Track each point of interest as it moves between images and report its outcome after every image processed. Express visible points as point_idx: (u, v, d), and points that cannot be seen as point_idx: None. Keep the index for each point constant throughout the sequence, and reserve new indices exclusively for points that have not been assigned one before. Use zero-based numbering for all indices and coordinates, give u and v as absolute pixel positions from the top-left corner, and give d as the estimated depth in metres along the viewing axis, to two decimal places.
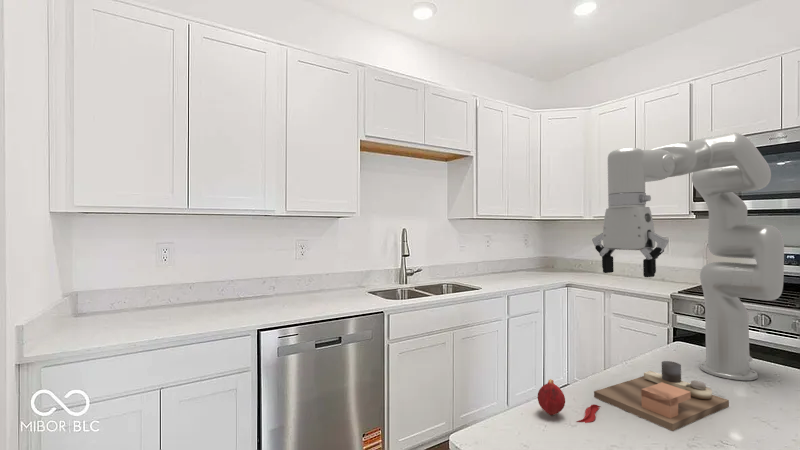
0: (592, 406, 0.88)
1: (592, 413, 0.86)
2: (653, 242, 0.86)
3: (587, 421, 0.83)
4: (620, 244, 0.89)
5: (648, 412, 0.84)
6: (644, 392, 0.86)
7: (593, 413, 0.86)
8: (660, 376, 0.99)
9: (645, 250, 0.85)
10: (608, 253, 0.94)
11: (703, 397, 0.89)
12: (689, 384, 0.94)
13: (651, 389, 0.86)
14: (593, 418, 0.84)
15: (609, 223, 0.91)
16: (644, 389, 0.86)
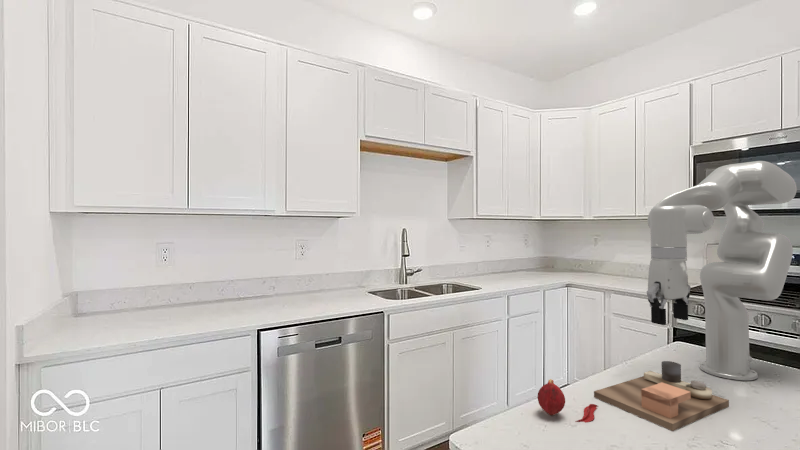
0: (590, 406, 0.89)
1: (590, 412, 0.86)
2: None
3: (586, 421, 0.83)
4: (678, 294, 0.95)
5: (648, 412, 0.84)
6: (644, 392, 0.86)
7: (591, 413, 0.86)
8: (660, 376, 0.99)
9: (686, 297, 0.98)
10: None
11: (703, 397, 0.89)
12: (689, 384, 0.94)
13: (651, 389, 0.86)
14: (592, 418, 0.84)
15: (672, 275, 0.94)
16: (644, 389, 0.86)
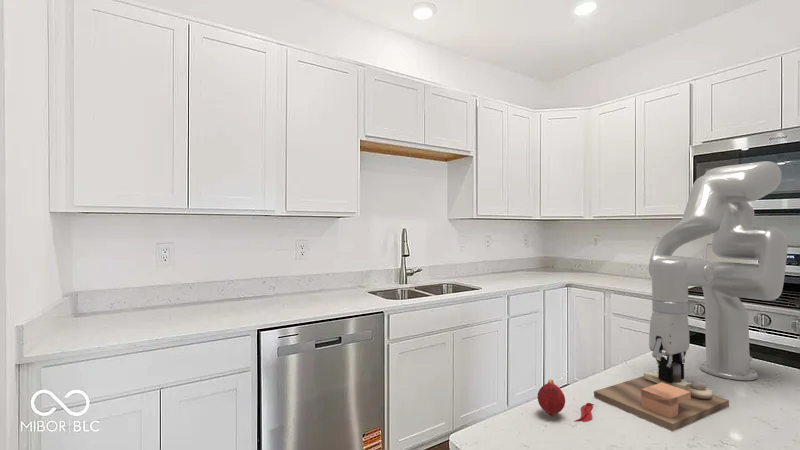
0: (587, 405, 0.89)
1: (587, 411, 0.87)
2: None
3: (584, 420, 0.84)
4: (679, 349, 0.95)
5: (648, 412, 0.84)
6: (644, 392, 0.86)
7: (589, 412, 0.87)
8: None
9: (683, 355, 0.97)
10: None
11: (703, 397, 0.89)
12: (689, 384, 0.94)
13: (651, 389, 0.86)
14: (590, 417, 0.84)
15: (674, 330, 0.94)
16: (644, 389, 0.86)
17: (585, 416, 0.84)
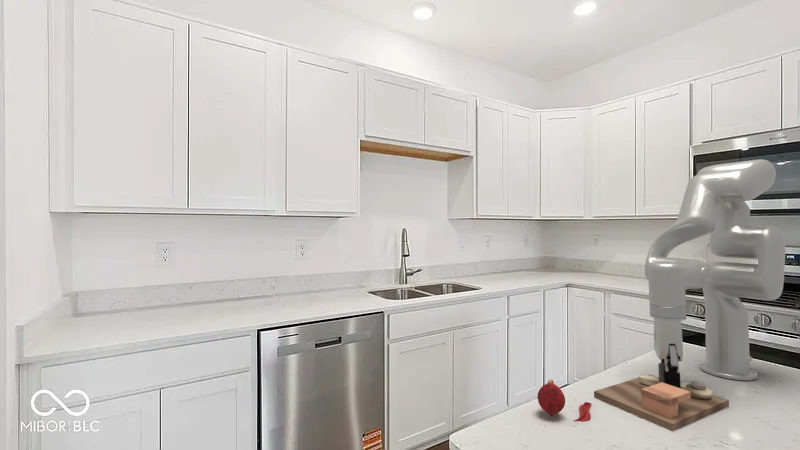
0: (585, 404, 0.89)
1: (586, 411, 0.87)
2: None
3: (583, 420, 0.84)
4: None
5: (648, 412, 0.84)
6: (644, 392, 0.86)
7: (587, 411, 0.87)
8: (656, 379, 0.97)
9: None
10: None
11: (707, 397, 0.89)
12: (687, 385, 0.94)
13: (651, 389, 0.86)
14: (588, 416, 0.85)
15: None
16: (644, 389, 0.86)
17: (584, 415, 0.84)
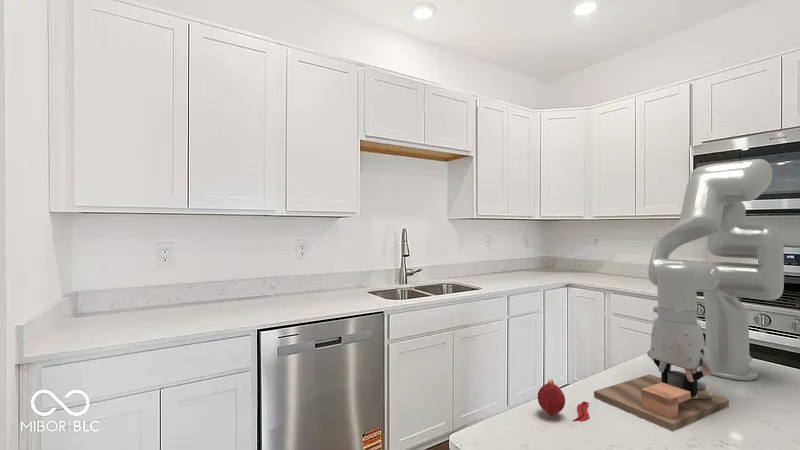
0: (582, 403, 0.90)
1: (584, 410, 0.87)
2: None
3: (582, 419, 0.84)
4: None
5: (648, 412, 0.84)
6: (644, 392, 0.86)
7: (585, 410, 0.87)
8: None
9: None
10: None
11: (711, 395, 0.90)
12: None
13: (651, 389, 0.86)
14: (587, 416, 0.85)
15: None
16: (644, 389, 0.86)
17: (582, 415, 0.85)
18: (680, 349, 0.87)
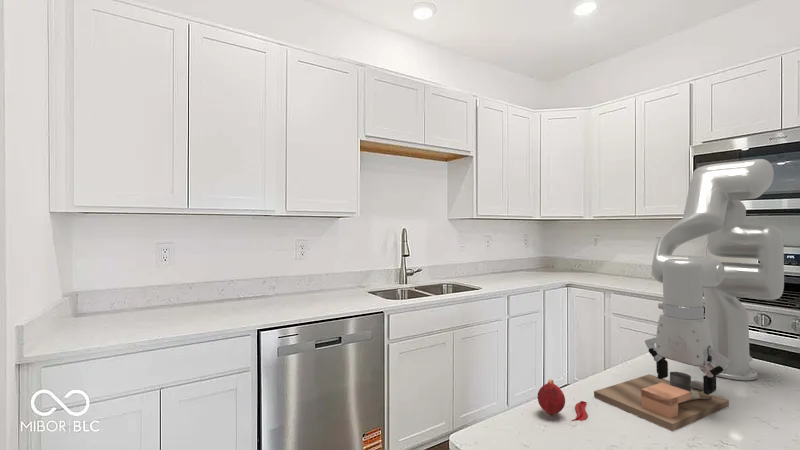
0: (580, 403, 0.90)
1: (582, 410, 0.87)
2: None
3: (581, 419, 0.84)
4: None
5: (648, 412, 0.84)
6: (644, 392, 0.86)
7: (583, 410, 0.87)
8: None
9: None
10: None
11: None
12: None
13: (651, 389, 0.86)
14: (585, 415, 0.85)
15: None
16: (644, 389, 0.86)
17: (581, 415, 0.85)
18: (687, 346, 0.86)
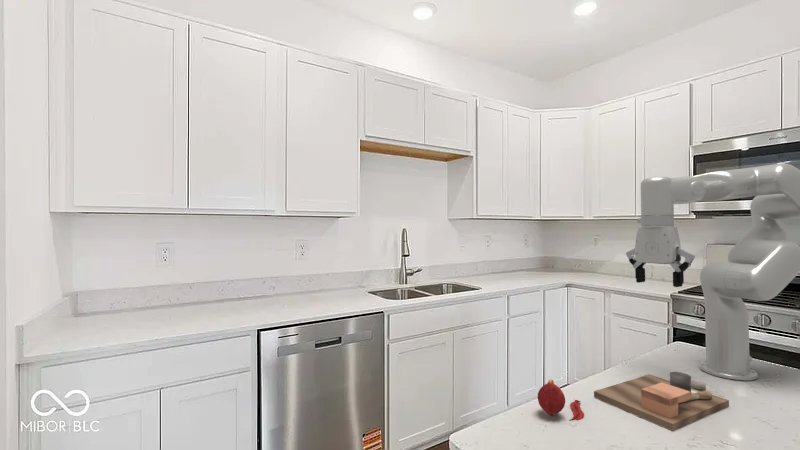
0: (575, 402, 0.90)
1: None
2: None
3: (578, 418, 0.84)
4: None
5: (648, 412, 0.84)
6: (644, 392, 0.86)
7: (579, 409, 0.88)
8: None
9: None
10: None
11: None
12: None
13: (651, 389, 0.86)
14: (582, 414, 0.86)
15: None
16: (644, 389, 0.86)
17: (578, 414, 0.85)
18: (659, 248, 1.02)
